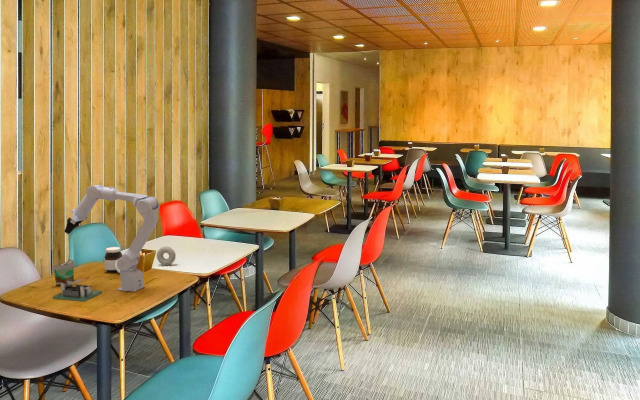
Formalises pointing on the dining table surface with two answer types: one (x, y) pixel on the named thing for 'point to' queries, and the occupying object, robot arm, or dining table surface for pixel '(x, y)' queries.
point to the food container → (64, 272)
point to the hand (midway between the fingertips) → (69, 229)
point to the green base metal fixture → (76, 292)
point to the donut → (162, 259)
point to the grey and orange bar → (77, 281)
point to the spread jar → (112, 259)
